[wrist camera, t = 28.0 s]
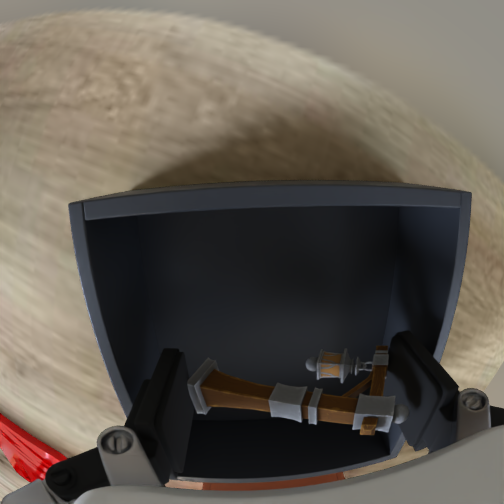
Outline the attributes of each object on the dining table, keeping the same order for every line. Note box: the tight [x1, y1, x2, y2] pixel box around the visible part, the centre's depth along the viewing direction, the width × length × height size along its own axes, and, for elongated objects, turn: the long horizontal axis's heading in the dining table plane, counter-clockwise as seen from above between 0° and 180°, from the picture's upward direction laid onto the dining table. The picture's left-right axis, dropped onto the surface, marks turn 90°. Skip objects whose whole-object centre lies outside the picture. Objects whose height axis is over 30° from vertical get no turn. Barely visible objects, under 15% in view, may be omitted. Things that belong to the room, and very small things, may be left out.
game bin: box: [68, 180, 472, 483], centre depth 12 cm, size 13×14×5 cm
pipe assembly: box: [187, 346, 409, 435], centre depth 10 cm, size 2×8×4 cm, turn 99°
